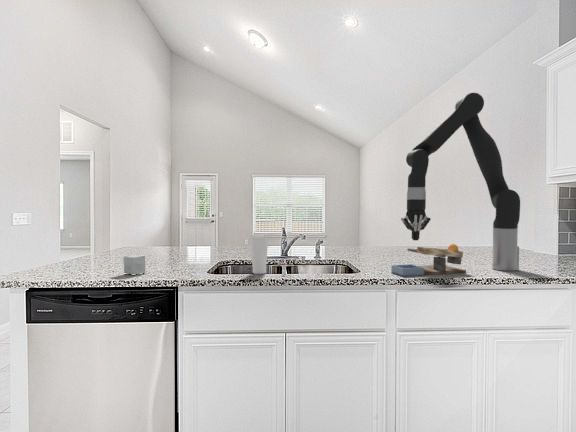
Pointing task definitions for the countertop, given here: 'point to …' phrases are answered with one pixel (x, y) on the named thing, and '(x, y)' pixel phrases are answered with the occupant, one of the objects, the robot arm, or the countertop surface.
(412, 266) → the tray
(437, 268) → the lever stand
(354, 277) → the countertop surface
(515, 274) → the countertop surface
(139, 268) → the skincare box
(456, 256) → the lever
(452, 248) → the ball
